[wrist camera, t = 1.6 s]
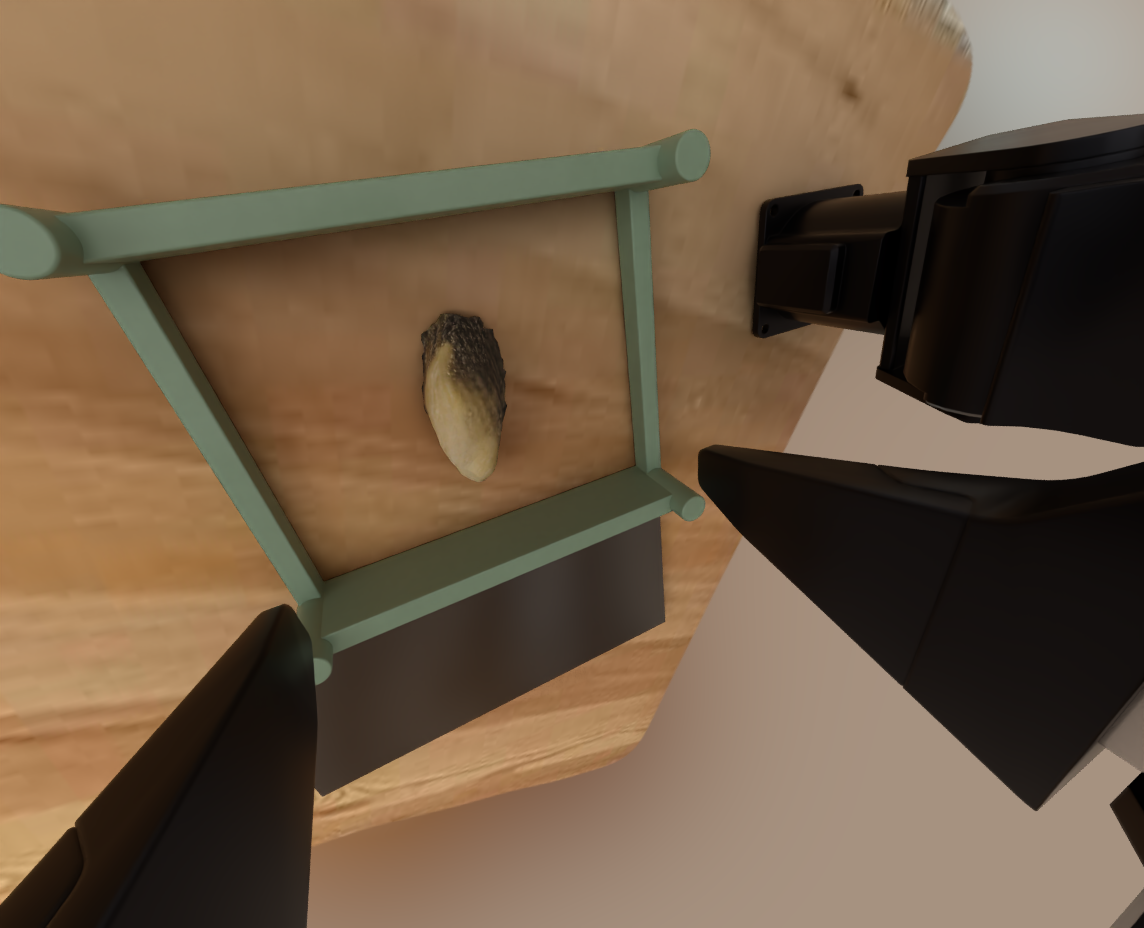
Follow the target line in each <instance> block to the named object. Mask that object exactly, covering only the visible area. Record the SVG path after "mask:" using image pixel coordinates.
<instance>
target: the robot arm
mask: <svg viewBox="0 0 1144 928" xmlns="http://www.w3.org/2000/svg"><path fill="white" fill-rule="evenodd" d="M906 177H909V180H908V186H907V191H901V192H892V193H882V194H873V195H864V196H863V187H862V185H861V184H854V185H848V186H842V187H836V188H831V189H825V190H819V191H814V192H808V193H802V194H797V195H791V196H785V197H780V198H774V199H769V200H766V201H765V202H764V203H763V205H762V207H761V210H760V219H759V235H758V250H757V266H756V282H755V297H754V313H753V329H752V330H753V335H754V336H755V337H759V338H767V337H770V336H773V335H777V334H780V333H783V332H787V331H790V330H793V329H797V328H800V327H803V326H807V325H810V324H818V325H825V326H831V327H837V328H844V329H850V330H856V331H863V332H870V333H876V334H882V335H884V341H883V347H882V354H881V360H880V365H879V366H878V367H877V370H876V379H877V380H880V381H881V382H883V383H885V384H887V385H889V386H891V387H893V388H895V389H897V390H899V391H901V392H903V393H905V394H907V395H909V396H911V397H913V398H915V399H917V400H919V401H921V402H923V403H925V404H927V405H929V406H931V407H933V408H935V409H937V410H939V411H941V412H943V413H945V414H947V415H950V416H952V417H954V418H957V419H959V420H961V421H963V422H966V423H980V424H983V425H988V426H1021V427H1030V428H1040V429H1048V430H1056V431H1062V432H1067V433H1073V434H1078V435H1083V436H1088V437H1092V438H1097V439H1102V440H1106V441H1110V442H1115V443H1120V444H1124V445H1129V446H1135V447H1144V114H1135V115H1121V116H1107V117H1094V118H1081V119H1068V120H1062V121H1057V122H1052V123H1047V124H1042V125H1038V126H1032V127H1027V128H1022V129H1017V130H1012V131H1008V132H1003V133H998V134H993V135H988V136H985V137H981V138H978V139H975V140H972V141H968V142H965V143H962V144H959V145H955V146H952V147H949V148H946V149H942V150H939V151H936V152H933V153H929V154H926V155H923V156H920V157H916V158H913V159H910V160H909V161H908V168H907V174H906ZM771 208H772V213H770V211H771ZM762 327H763V329H762ZM698 481H699V484H700V487H701V488H702V490H703V491H704V492H705V493H706V494H707V495H708V497H709V498H710V499H711V500H712V501H713V502H714V504H715V505H716V506H717V507H718V508H719V509H720V511H721V512H722V513H723V514H724V515H725V516H726V518H727V519H728V520H729V521H730V522H731V523H732V525H733V526H734V527H735V528H736V529H737V530H738V531H739V532H740V533H741V534H742V535H743V536H744V537H745V538H746V539H747V540H748V541H749V542H750V543H751V544H752V545H753V546H754V547H755V548H756V549H757V550H759V552H761V553H762V554H763V555H764V556H765V557H766V558H767V559H768V560H769V561H770V562H771V563H773V565H774V566H775V567H776V568H777V569H779V570H780V571H781V572H782V573H783V574H784V575H785V576H786V577H787V578H788V579H789V580H790V581H791V582H792V583H793V584H794V585H795V586H796V587H797V588H799V589H800V590H801V591H802V592H803V593H804V594H805V595H806V596H807V597H808V598H809V599H810V600H811V601H812V602H813V603H814V604H816V606H818V607H819V608H820V609H821V610H822V611H823V612H824V613H825V614H826V615H827V616H828V617H829V618H830V619H831V620H832V621H834V623H836V624H837V625H838V626H839V627H840V628H841V629H842V630H843V631H844V632H845V633H846V634H847V635H848V636H849V637H850V638H851V639H852V640H853V641H855V642H856V643H857V644H858V645H859V646H860V647H861V648H862V649H863V650H864V651H865V652H866V653H867V654H868V655H869V656H870V657H872V658H873V659H874V660H875V661H876V662H877V663H878V664H879V665H880V666H881V667H882V668H883V669H884V670H885V671H886V672H887V673H888V674H889V675H890V676H891V677H893V678H894V679H895V680H896V681H897V682H898V683H899V684H900V685H902V686H903V688H904V689H905V690H906V691H907V692H908V693H909V694H910V695H911V696H912V697H913V698H914V699H915V700H916V701H918V702H919V703H920V704H921V705H922V706H923V707H924V708H925V709H926V710H927V711H928V712H929V713H930V714H931V715H932V716H933V717H934V718H935V719H937V720H938V721H939V722H940V723H941V724H942V725H943V726H944V727H945V728H946V729H947V730H948V731H949V732H950V733H951V734H952V735H953V736H954V737H955V738H957V739H958V740H959V741H960V742H961V743H962V744H963V745H964V746H965V747H966V748H967V749H968V750H969V751H970V752H971V753H972V754H973V755H974V756H976V757H977V758H978V759H979V760H980V761H981V762H982V763H983V764H984V765H985V766H986V767H987V768H988V769H989V770H990V771H991V772H992V773H993V774H994V775H996V776H997V777H998V778H999V779H1000V780H1001V781H1002V782H1003V783H1004V784H1005V785H1006V786H1007V787H1008V788H1009V789H1010V790H1012V791H1013V793H1015V794H1016V795H1017V796H1018V797H1019V798H1020V799H1021V800H1022V801H1024V803H1026V804H1027V805H1028V806H1029V807H1031V808H1032V809H1033V810H1035V811H1038V810H1039V809H1040V808H1041V807H1042V806H1043V805H1044V804H1045V803H1046V802H1047V801H1049V800H1050V799H1051V798H1052V797H1053V796H1054V795H1055V794H1056V793H1057V792H1058V791H1059V790H1060V789H1062V788H1063V787H1064V786H1065V785H1066V784H1067V783H1068V782H1069V781H1070V780H1071V779H1072V778H1073V777H1075V776H1076V775H1077V774H1078V773H1079V772H1080V771H1081V770H1082V769H1083V768H1084V767H1085V766H1086V765H1087V764H1089V763H1090V762H1091V761H1092V760H1093V759H1094V758H1095V757H1096V756H1097V755H1098V754H1099V753H1100V752H1101V751H1103V750H1104V749H1105V748H1107V749H1108V750H1110V751H1111V752H1113V753H1114V754H1116V755H1117V756H1119V757H1120V758H1122V759H1123V760H1125V761H1126V762H1128V763H1129V764H1131V765H1132V766H1134V767H1135V768H1137V769H1138V770H1140V771H1141V774H1139V775H1138V776H1137V777H1136V778H1135V780H1133V781H1132V782H1131V783H1130V785H1128V786H1127V787H1126V788H1125V789H1124V790H1123V792H1121V794H1120V795H1119V796H1118V797H1117V798H1116V799H1115V800H1114V801H1113V802H1112V803H1111V804H1110V806H1111V808H1112V810H1113V812H1114V814H1115V815H1116V817H1117V819H1118V821H1119V823H1120V825H1121V826H1122V828H1123V830H1124V832H1125V834H1126V835H1127V837H1128V839H1129V841H1130V843H1131V845H1132V846H1133V848H1134V850H1135V852H1136V854H1137V855H1138V857H1139V859H1140V861H1141V863H1142V864H1143V866H1144V462H1141V463H1138V464H1134V465H1130V466H1126V467H1123V468H1119V469H1115V470H1112V471H1108V472H1104V473H1101V474H1097V475H1093V476H1088V477H1082V478H1077V479H1067V480H1032V479H1020V478H1008V477H995V476H984V475H971V474H960V473H949V472H938V471H927V470H919V469H910V468H901V467H893V466H884V465H878V466H877V465H875V464H868V463H860V462H852V461H844V460H836V459H828V458H820V457H812V456H804V455H796V454H788V453H780V452H772V451H764V450H756V449H748V448H740V447H732V446H724V445H712V446H709V447H706V448H704V449H702V450H700V452H699V454H698ZM317 730H318V719H317V702H316V688H315V674H314V661H313V647H312V641H311V638H310V635H309V633H308V631H307V630H306V628H305V627H304V625H303V624H302V622H301V621H300V619H299V618H298V616H297V615H296V613H295V611H294V610H293V609H292V607H290V606H289V605H287V604H282V605H280V606H277V607H274V608H271V609H269V610H266V611H263V612H262V613H260V614H259V615H258V616H257V617H256V618H255V620H254V621H253V622H252V623H251V624H250V625H249V626H248V628H247V629H246V630H245V631H244V632H243V633H242V634H241V635H240V637H239V638H238V639H237V640H236V641H235V642H234V643H233V644H232V646H231V647H230V648H229V649H228V650H227V651H226V652H225V653H224V655H223V656H222V657H221V658H220V659H219V660H218V661H217V662H216V664H215V665H214V666H213V667H212V668H211V669H210V670H209V671H208V673H207V674H206V675H205V676H204V677H203V678H202V679H201V681H200V682H199V683H198V684H197V685H196V686H195V687H194V688H193V690H192V691H191V692H190V693H189V694H188V695H187V696H186V697H185V699H184V700H183V701H182V702H181V703H180V704H179V705H178V706H177V708H176V709H175V710H174V711H173V712H172V713H171V714H170V715H169V717H168V718H167V719H166V720H165V721H164V722H163V723H162V724H161V726H160V727H159V728H158V729H157V730H156V731H155V732H154V733H153V735H152V736H151V737H150V738H149V739H148V740H147V741H146V742H145V744H144V745H143V746H142V747H141V748H140V749H139V750H138V751H137V753H136V754H135V755H134V756H133V757H132V758H131V759H130V760H129V762H128V763H127V764H126V765H125V766H124V767H123V768H122V769H121V771H120V772H119V773H118V774H117V775H116V776H115V777H114V779H113V780H112V781H111V782H110V783H109V784H108V785H107V786H106V788H105V789H104V790H103V791H102V792H101V793H100V794H99V795H98V797H97V798H96V799H95V800H94V801H93V802H92V803H91V804H90V806H89V807H88V808H87V809H86V810H85V811H84V812H83V813H82V815H81V816H80V817H79V818H78V819H77V820H76V822H75V827H72V828H70V829H68V830H67V831H66V832H65V833H64V835H63V836H62V837H61V838H60V839H59V840H58V841H57V843H56V844H55V845H54V846H53V847H52V848H51V849H50V851H49V852H48V853H47V854H46V855H45V856H44V857H43V858H42V860H41V861H40V862H39V863H38V864H37V865H36V866H35V867H34V868H33V870H32V871H31V872H30V873H29V874H28V875H27V876H26V877H25V878H24V879H23V881H22V882H21V883H20V884H19V885H18V886H17V887H16V888H15V889H14V890H13V892H12V893H11V894H10V895H9V896H8V897H7V898H6V899H5V900H4V901H3V903H2V904H1V905H0V928H307V911H308V893H309V876H310V857H311V840H312V823H313V805H314V787H315V770H316V752H317ZM1110 928H1144V889H1143V890H1142V891H1141V892H1140V893H1139V895H1138V896H1137V897H1136V898H1135V899H1134V900H1133V902H1132V903H1131V904H1130V905H1129V906H1128V907H1127V909H1126V910H1125V911H1124V912H1123V913H1122V914H1121V915H1120V917H1119V918H1118V919H1117V920H1116V921H1115V922H1114V924H1113V925H1112V926H1111V927H1110Z"/></svg>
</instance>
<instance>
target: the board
mask: <svg viewBox="0 0 1144 928" xmlns="http://www.w3.org/2000/svg"><path fill="white" fill-rule="evenodd" d="M664 622H665V607H664V587H663V567H662V547H661V527H660V516H659V517H657V518H655V519H652V520H650V521H648V522H645V523H643V524H640V525H638V526H636V527H633V528H631V529H629V530H626V531H624V532H621V533H619V534H617V535H614V536H612V537H610V538H607V539H605V540H602V541H600V542H598V543H595V544H593V545H591V546H588V547H586V548H583V549H581V550H579V551H576V552H574V553H572V554H569V555H567V556H564V557H562V558H560V559H557V560H555V561H553V562H550V563H548V564H545V565H543V566H541V567H538V568H536V569H534V570H531V571H529V572H526V573H524V574H522V575H519V576H517V577H515V578H512V579H510V580H508V581H505V582H503V583H500V584H498V585H496V586H493V587H491V588H489V589H486V590H484V591H481V592H479V593H477V594H474V595H472V596H470V597H467V598H465V599H462V600H460V601H458V602H455V603H453V604H451V605H448V606H446V607H443V608H441V609H439V610H436V611H434V612H432V613H429V614H427V615H424V616H422V617H420V618H417V619H415V620H413V621H410V622H408V623H405V624H403V625H401V626H398V627H396V628H394V629H391V630H389V631H386V632H384V633H382V634H379V635H377V636H375V637H372V638H370V639H368V640H365V641H363V642H360V643H358V644H356V645H353V646H351V647H349V648H346V649H344V650H341V651H339V652H337V653H334V654H333V666H332V672H331V674H330V676H329V677H328V678H327V679H326V680H325V681H324V682H322V683H320V684H318V685H316V686H315V688H316V702H317V719H318V730H317V752H316V770H315V787H314V788H315V789H316V790H317V791H318V792H319V794H320V795H321V796H325V795H327V794H329V793H331V792H333V791H335V790H337V789H339V788H340V787H342V786H344V785H346V784H348V783H350V782H352V781H354V780H356V779H358V778H360V777H362V776H364V775H366V774H368V773H370V772H372V771H374V770H376V769H378V768H380V767H382V766H384V765H386V764H387V763H389V762H391V761H393V760H395V759H397V758H399V757H401V756H403V755H405V754H407V753H409V752H411V751H413V750H415V749H417V748H419V747H421V746H423V745H425V744H427V743H429V742H431V741H433V740H434V739H436V738H438V737H440V736H442V735H444V734H446V733H448V732H450V731H452V730H454V729H456V728H458V727H460V726H462V725H464V724H466V723H468V722H470V721H472V720H474V719H476V718H478V717H480V716H481V715H483V714H485V713H487V712H489V711H491V710H493V709H495V708H497V707H499V706H501V705H503V704H505V703H507V702H509V701H511V700H513V699H515V698H517V697H519V696H521V695H523V694H525V693H527V692H528V691H530V690H532V689H534V688H536V687H538V686H540V685H542V684H544V683H546V682H548V681H550V680H552V679H554V678H556V677H558V676H560V675H562V674H564V673H566V672H568V671H570V670H572V669H574V668H576V667H577V666H579V665H581V664H583V663H585V662H587V661H589V660H591V659H593V658H595V657H597V656H599V655H601V654H603V653H605V652H607V651H609V650H611V649H613V648H615V647H617V646H619V645H621V644H623V643H624V642H626V641H628V640H630V639H632V638H634V637H636V636H638V635H640V634H642V633H644V632H646V631H648V630H650V629H652V628H654V627H656V626H658V625H660V624H662V623H664Z"/></svg>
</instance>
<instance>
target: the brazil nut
mask: <svg viewBox="0 0 1144 928" xmlns="http://www.w3.org/2000/svg"><path fill="white" fill-rule="evenodd" d="M421 341H422V343H423V346H424V352H423V355H422V359H423V373H424V382H423V386H422V392H423V399H424V408H425V411H426V413H427V414H428V415H429V417H430V421H431V424H432V426H433V428H434V430H435V432H436V435H437V437H438V440H439V443H440V446H441V447H442V449H443V451H444V452H445V454H446V455H447V456H448V458H449V459H450V461H451V462H452V463H453V464H454V465H455V466H456V467H457V469H458V470H459V472H460V473H461V474H462V475H463V476H465V477H467V478H469V479H471V480H474V481H477V482H482V481H484V480H485V479H487V478H488V477H489V476H490V475H491V474H492V473H493V472H494V470H495V467H496V464H497V459H498V450H499V445H500V437H501V431H502V422H503V418H504V415H505V411H506V408H507V405H506V402H505V380H504V378H505V374H506V371H505V370H504V369H503V359H502V358H501V355H500V350H499V346H498V343H497V341H496V339H495V338H494V335H493V329H486V328H483V322H482V320H481V319H480V317H476V316H473V317H470V318H467V317H464V316H461V315H457V314H440V317H439V318H438V320H437V322H436V323H434V324H432V325H431V326H430V328H429V329H428V330H426V331H425V332H424V333H422V335H421Z"/></svg>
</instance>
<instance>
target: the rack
mask: <svg viewBox="0 0 1144 928" xmlns="http://www.w3.org/2000/svg"><path fill="white" fill-rule="evenodd" d="M709 161H710V145H709V141H708V139H707V137H706V136H705V134H704V133H703V132H701V131H699V130H697V129H690V130H687V131H685V132H682V133H679V134H676V135H673V136H671V137H668V138H665V139H662V140H659V141H657V142H654V143H651V144H648V145H645V146H643V147H638V148H629V149H620V150H612V151H603V152H594V153H585V154H577V155H568V156H559V157H551V158H542V159H533V160H525V161H516V162H507V163H499V164H490V165H481V166H473V167H464V168H455V169H447V170H438V171H429V172H421V173H412V174H403V175H395V176H386V177H377V178H369V179H360V180H351V181H343V182H334V183H325V184H317V185H308V186H299V187H291V188H282V189H273V190H264V191H256V192H247V193H238V194H230V195H221V196H212V197H204V198H195V199H186V200H178V201H169V202H160V203H152V204H143V205H134V206H126V207H117V208H108V209H100V210H91V211H82V212H74V213H65V212H58V211H50V210H43V209H35V208H28V207H20V206H13V205H6V204H0V273H1V274H4V275H6V276H9V277H13V278H17V279H23V280H39V279H50V278H61V277H72V276H82V275H88V276H89V278H90V279H91V281H92V282H93V284H94V286H95V287H96V289H97V290H98V292H99V293H100V295H101V297H102V298H103V300H104V301H105V303H106V304H107V306H108V308H109V309H110V311H111V312H112V314H113V315H114V317H115V318H116V320H117V322H118V323H119V325H120V326H121V328H122V329H123V331H124V333H125V334H126V336H127V337H128V339H129V340H130V342H131V344H132V345H133V347H134V348H135V350H136V351H137V353H138V355H139V356H140V358H141V359H142V361H143V362H144V364H145V365H146V367H147V369H148V370H149V372H150V373H151V375H152V376H153V378H154V380H155V381H156V383H157V384H158V386H159V387H160V389H161V391H162V392H163V394H164V395H165V397H166V398H167V400H168V401H169V403H170V405H171V406H172V408H173V409H174V411H175V412H176V414H177V416H178V417H179V419H180V420H181V422H182V423H183V425H184V427H185V428H186V430H187V431H188V433H189V434H190V436H191V438H192V439H193V441H194V442H195V444H196V445H197V447H198V448H199V450H200V452H201V453H202V455H203V456H204V458H205V459H206V461H207V463H208V464H209V466H210V467H211V469H212V470H213V472H214V474H215V475H216V477H217V478H218V480H219V481H220V483H221V484H222V486H223V488H224V489H225V491H226V492H227V494H228V495H229V497H230V499H231V500H232V502H233V503H234V505H235V506H236V508H237V510H238V511H239V513H240V514H241V516H242V517H243V519H244V521H245V522H246V524H247V525H248V527H249V528H250V530H251V531H252V533H253V535H254V536H255V538H256V539H257V541H258V542H259V544H260V546H261V547H262V549H263V550H264V552H265V553H266V555H267V557H268V558H269V560H270V561H271V563H272V564H273V566H274V567H275V569H276V571H277V572H278V574H279V575H280V577H281V578H282V580H283V582H284V583H285V585H286V586H287V588H288V589H289V591H290V593H291V594H292V596H293V597H294V599H295V600H296V602H297V604H298V607H297V614H296V615H297V616H298V618H299V619H300V621H301V622H302V624H303V625H304V627H305V628H306V630H307V631H308V633H309V635H310V638H311V641H312V647H313V661H314V674H315V686H316V685H318V684H320V683H322V682H324V681H325V680H326V679H327V678H328V677H329V676H330V674H331V672H332V666H333V654H334V653H337V652H339V651H341V650H344V649H346V648H349V647H351V646H353V645H356V644H358V643H360V642H363V641H365V640H368V639H370V638H372V637H375V636H377V635H379V634H382V633H384V632H386V631H389V630H391V629H394V628H396V627H398V626H401V625H403V624H405V623H408V622H410V621H413V620H415V619H417V618H420V617H422V616H424V615H427V614H429V613H432V612H434V611H436V610H439V609H441V608H443V607H446V606H448V605H451V604H453V603H455V602H458V601H460V600H462V599H465V598H467V597H470V596H472V595H474V594H477V593H479V592H481V591H484V590H486V589H489V588H491V587H493V586H496V585H498V584H500V583H503V582H505V581H508V580H510V579H512V578H515V577H517V576H519V575H522V574H524V573H526V572H529V571H531V570H534V569H536V568H538V567H541V566H543V565H545V564H548V563H550V562H553V561H555V560H557V559H560V558H562V557H564V556H567V555H569V554H572V553H574V552H576V551H579V550H581V549H583V548H586V547H588V546H591V545H593V544H595V543H598V542H600V541H602V540H605V539H607V538H610V537H612V536H614V535H617V534H619V533H621V532H624V531H626V530H629V529H631V528H633V527H636V526H638V525H640V524H643V523H645V522H648V521H650V520H652V519H655V518H657V517H659V516H662V515H664V514H666V513H669V512H671V511H674V512H675V513H676V514H677V515H679V516H680V517H681V518H682V519H684V520H685V521H693V520H695V519H697V518H698V517H699V516H700V515H701V514H702V513H703V511H704V509H705V500H704V498H703V497H702V496H700V495H699V494H697V493H696V492H695V491H693V490H692V489H690V488H689V487H687V486H686V485H685V484H683V483H682V482H680V481H679V480H677V479H676V478H675V477H673V476H672V475H670V474H669V473H667V472H666V471H665V470H663V469H662V468H661V459H660V437H659V415H658V393H657V370H656V348H655V326H654V304H653V282H652V260H651V238H650V215H649V193H648V191H649V190H654V189H659V188H664V187H669V186H674V185H679V184H683V183H688V182H693V181H696V180H698V179H699V178H701V177H702V176H703V174H704V173H705V172H706V170H707V168H708V165H709ZM612 191H614V192H615V204H616V217H617V229H618V242H619V255H620V268H621V281H622V294H623V306H624V319H625V332H626V345H627V358H628V371H629V383H630V396H631V409H632V422H633V435H634V448H635V460H636V466H633V467H631V468H628V469H625V470H623V471H620V472H617V473H615V474H612V475H609V476H607V477H604V478H601V479H599V480H596V481H593V482H590V483H588V484H585V485H582V486H580V487H577V488H574V489H572V490H569V491H566V492H564V493H561V494H558V495H556V496H553V497H550V498H548V499H545V500H542V501H539V502H537V503H534V504H531V505H529V506H526V507H523V508H521V509H518V510H515V511H513V512H510V513H507V514H505V515H502V516H499V517H496V518H494V519H491V520H488V521H486V522H483V523H480V524H478V525H475V526H472V527H470V528H467V529H464V530H462V531H459V532H456V533H454V534H451V535H448V536H445V537H443V538H440V539H437V540H435V541H432V542H429V543H427V544H424V545H421V546H419V547H416V548H413V549H411V550H408V551H405V552H402V553H400V554H397V555H394V556H392V557H389V558H386V559H384V560H381V561H378V562H376V563H373V564H370V565H368V566H365V567H362V568H359V569H357V570H354V571H351V572H349V573H346V574H343V575H341V576H338V577H335V578H333V579H330V580H327V581H325V582H324V581H323V580H322V578H321V576H320V574H319V573H318V571H317V569H316V567H315V566H314V564H313V562H312V561H311V559H310V557H309V555H308V554H307V552H306V550H305V548H304V547H303V545H302V543H301V541H300V540H299V538H298V536H297V534H296V533H295V531H294V529H293V528H292V526H291V524H290V522H289V521H288V519H287V517H286V515H285V514H284V512H283V510H282V508H281V507H280V505H279V503H278V502H277V500H276V498H275V496H274V495H273V493H272V491H271V489H270V488H269V486H268V484H267V482H266V481H265V479H264V477H263V475H262V474H261V472H260V470H259V469H258V467H257V465H256V463H255V462H254V460H253V458H252V456H251V455H250V453H249V451H248V449H247V448H246V446H245V444H244V443H243V441H242V439H241V437H240V436H239V434H238V432H237V430H236V429H235V427H234V425H233V423H232V422H231V420H230V418H229V416H228V415H227V413H226V411H225V410H224V408H223V406H222V404H221V403H220V401H219V399H218V397H217V396H216V394H215V392H214V390H213V389H212V387H211V385H210V384H209V382H208V380H207V378H206V377H205V375H204V373H203V371H202V370H201V368H200V366H199V364H198V363H197V361H196V359H195V357H194V356H193V354H192V352H191V351H190V349H189V347H188V345H187V344H186V342H185V340H184V338H183V337H182V335H181V333H180V331H179V330H178V328H177V326H176V325H175V323H174V321H173V319H172V318H171V316H170V314H169V312H168V311H167V309H166V307H165V305H164V304H163V302H162V300H161V298H160V297H159V295H158V293H157V292H156V290H155V288H154V286H153V285H152V283H151V281H150V279H149V278H148V276H147V274H146V272H145V271H144V269H143V267H142V266H141V264H140V261H146V260H152V259H159V258H166V257H173V256H179V255H186V254H193V253H200V252H206V251H213V250H220V249H227V248H234V247H240V246H247V245H254V244H261V243H267V242H274V241H281V240H288V239H294V238H301V237H308V236H315V235H321V234H328V233H335V232H342V231H349V230H355V229H362V228H369V227H376V226H382V225H389V224H396V223H403V222H409V221H416V220H423V219H430V218H436V217H443V216H450V215H457V214H464V213H470V212H477V211H484V210H491V209H497V208H504V207H511V206H518V205H524V204H531V203H538V202H545V201H551V200H558V199H565V198H572V197H578V196H585V195H592V194H599V193H606V192H612Z"/></svg>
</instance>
